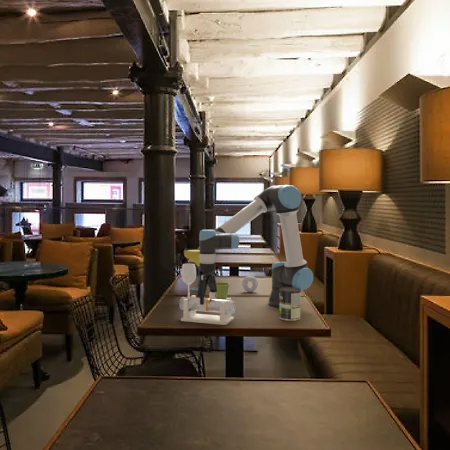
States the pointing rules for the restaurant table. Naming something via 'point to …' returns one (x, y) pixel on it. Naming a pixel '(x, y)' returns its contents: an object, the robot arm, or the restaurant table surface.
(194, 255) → the cocktail glass
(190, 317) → the collar stand
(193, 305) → the air tube
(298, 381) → the restaurant table surface
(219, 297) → the plant pot
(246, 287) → the donut
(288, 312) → the coffee can
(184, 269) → the wineglass
